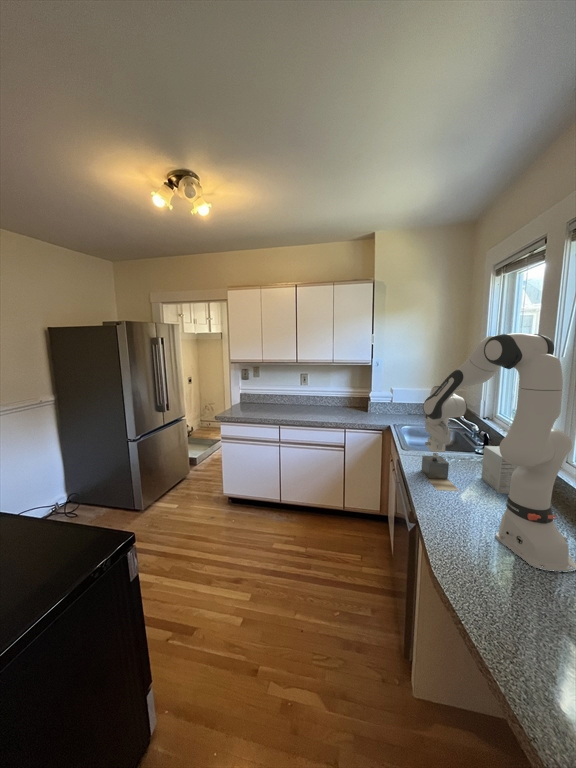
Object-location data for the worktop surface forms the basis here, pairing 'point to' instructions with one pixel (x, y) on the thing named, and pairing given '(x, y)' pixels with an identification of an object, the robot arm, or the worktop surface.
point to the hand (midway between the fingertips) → (436, 446)
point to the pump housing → (434, 445)
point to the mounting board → (442, 484)
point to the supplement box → (496, 470)
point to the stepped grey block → (435, 467)
